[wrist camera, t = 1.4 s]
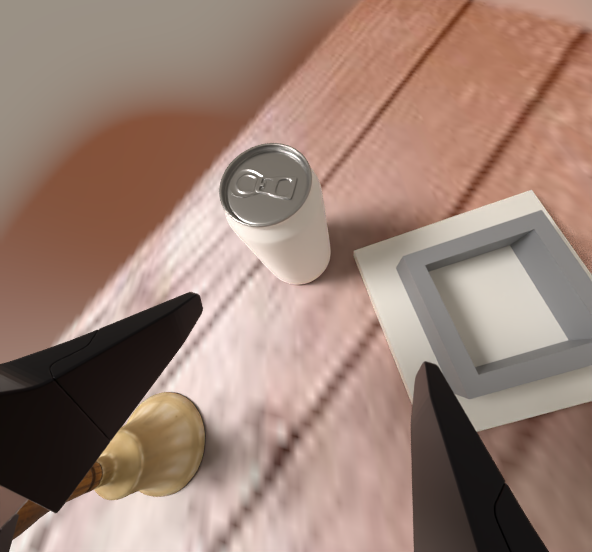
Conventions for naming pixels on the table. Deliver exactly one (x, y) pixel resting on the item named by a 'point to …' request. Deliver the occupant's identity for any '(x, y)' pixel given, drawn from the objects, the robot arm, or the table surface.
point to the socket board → (488, 309)
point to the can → (278, 211)
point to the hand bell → (142, 455)
